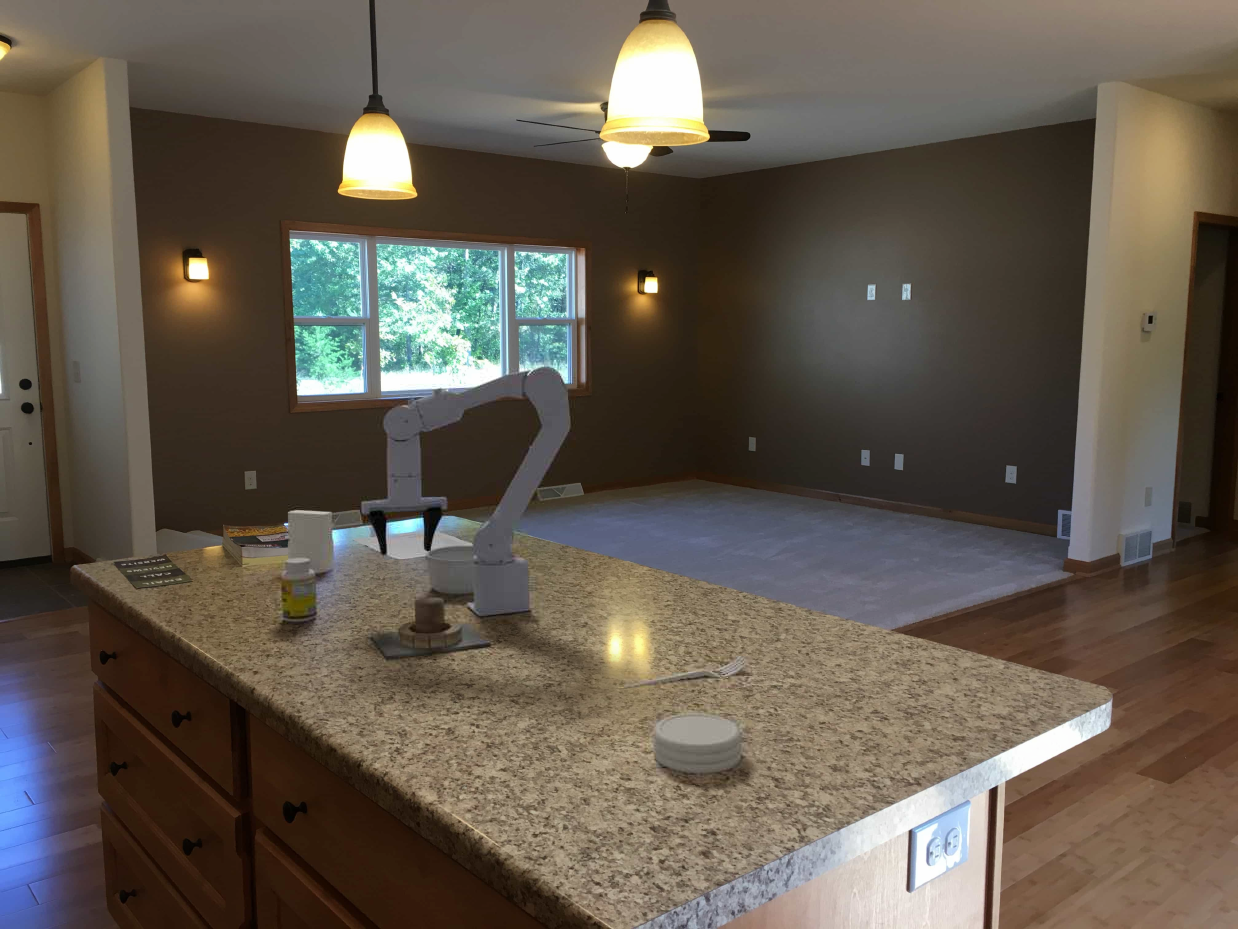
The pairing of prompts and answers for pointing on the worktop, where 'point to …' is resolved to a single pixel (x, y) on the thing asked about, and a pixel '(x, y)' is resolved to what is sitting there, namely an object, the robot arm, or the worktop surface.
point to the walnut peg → (429, 615)
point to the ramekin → (451, 569)
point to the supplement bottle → (298, 591)
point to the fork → (699, 673)
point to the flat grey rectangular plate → (428, 640)
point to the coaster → (697, 743)
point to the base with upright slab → (311, 538)
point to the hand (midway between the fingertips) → (405, 551)
